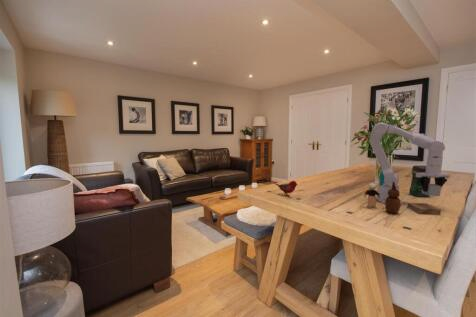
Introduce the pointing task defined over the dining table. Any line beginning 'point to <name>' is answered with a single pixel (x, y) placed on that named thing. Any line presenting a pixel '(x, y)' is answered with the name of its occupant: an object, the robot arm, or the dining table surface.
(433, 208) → the walnut block
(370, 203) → the grandmother figurine
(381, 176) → the beverage can
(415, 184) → the coffee jar
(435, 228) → the dining table surface
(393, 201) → the wooden figurine
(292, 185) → the decorative bird figurine
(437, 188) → the slate cube
